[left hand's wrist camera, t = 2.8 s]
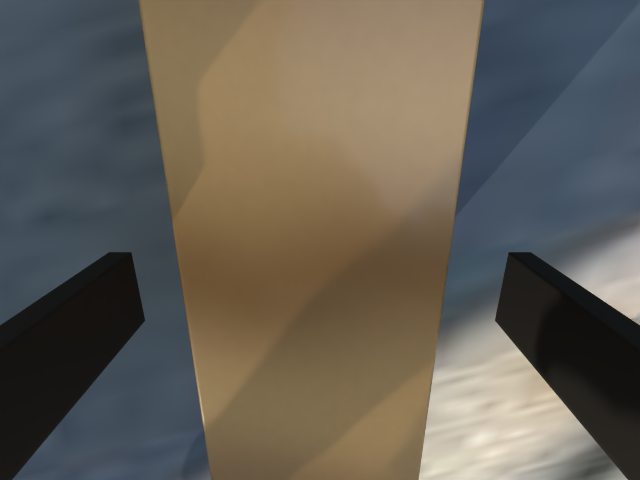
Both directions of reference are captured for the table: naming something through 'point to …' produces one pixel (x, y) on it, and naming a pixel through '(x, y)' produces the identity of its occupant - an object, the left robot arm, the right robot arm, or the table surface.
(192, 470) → the table surface
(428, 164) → the bar
